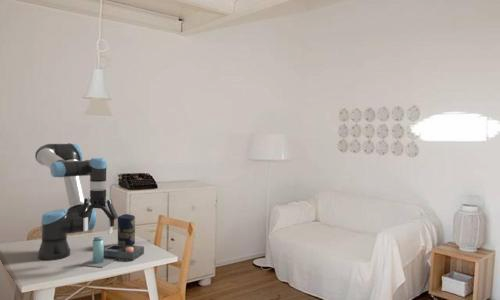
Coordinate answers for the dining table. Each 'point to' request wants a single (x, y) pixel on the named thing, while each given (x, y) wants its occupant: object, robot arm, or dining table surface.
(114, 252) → the housing
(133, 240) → the canister
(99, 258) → the cylinder
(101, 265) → the mat
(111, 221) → the robot arm
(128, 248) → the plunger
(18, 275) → the dining table surface
